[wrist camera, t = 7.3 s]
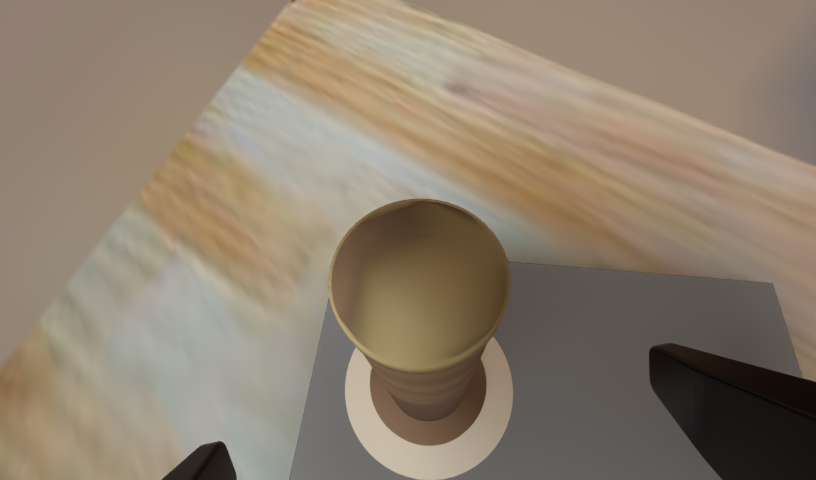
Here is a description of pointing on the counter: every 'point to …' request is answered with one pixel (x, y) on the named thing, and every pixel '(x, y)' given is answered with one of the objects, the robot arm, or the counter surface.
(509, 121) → the counter surface
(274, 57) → the counter surface
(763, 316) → the board
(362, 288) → the walnut peg
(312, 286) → the counter surface
